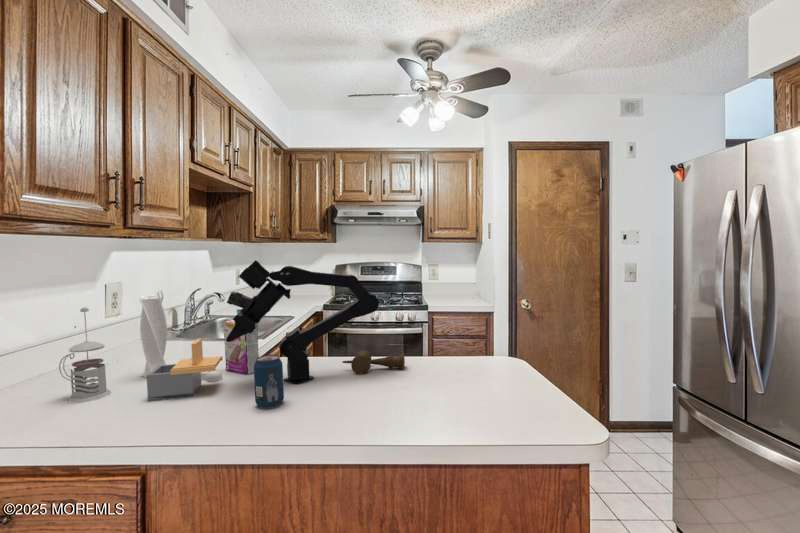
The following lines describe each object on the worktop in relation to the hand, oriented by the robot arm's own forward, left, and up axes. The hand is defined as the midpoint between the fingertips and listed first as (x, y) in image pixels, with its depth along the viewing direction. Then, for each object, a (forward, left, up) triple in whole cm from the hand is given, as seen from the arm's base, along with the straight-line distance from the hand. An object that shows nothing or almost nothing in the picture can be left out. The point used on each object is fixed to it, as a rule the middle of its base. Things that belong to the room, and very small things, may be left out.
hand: (227, 340), depth 119 cm
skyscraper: (+32, +7, -14) cm, 36 cm away
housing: (+9, +11, -14) cm, 20 cm away
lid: (+5, +6, -7) cm, 11 cm away
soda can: (-22, +2, -14) cm, 26 cm away
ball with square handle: (+12, -1, -14) cm, 18 cm away
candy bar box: (+12, -11, -14) cm, 21 cm away
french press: (+28, +27, -14) cm, 41 cm away
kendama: (-24, -35, -14) cm, 45 cm away
